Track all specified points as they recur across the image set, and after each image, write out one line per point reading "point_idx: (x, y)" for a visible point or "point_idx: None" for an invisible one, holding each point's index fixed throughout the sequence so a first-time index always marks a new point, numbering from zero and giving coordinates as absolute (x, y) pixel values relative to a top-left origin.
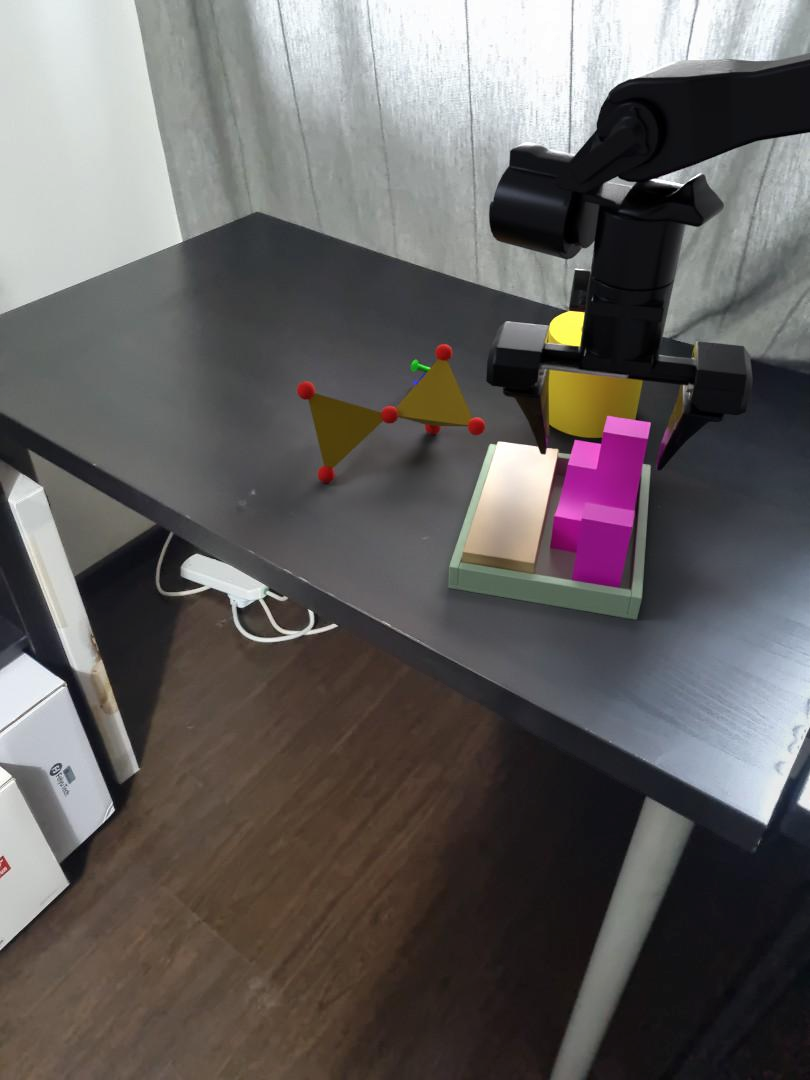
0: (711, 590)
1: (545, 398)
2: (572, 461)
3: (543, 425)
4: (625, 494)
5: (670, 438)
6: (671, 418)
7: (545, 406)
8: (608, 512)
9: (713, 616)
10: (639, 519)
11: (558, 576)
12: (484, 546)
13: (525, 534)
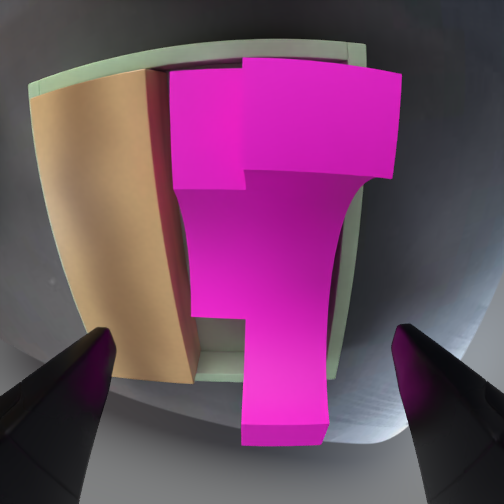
0: (423, 288)
1: (45, 481)
2: (181, 173)
3: (88, 459)
4: (320, 221)
5: (421, 474)
6: (461, 437)
7: (57, 466)
8: (283, 433)
9: (413, 325)
10: (345, 235)
11: (228, 323)
12: (123, 367)
13: (162, 342)
